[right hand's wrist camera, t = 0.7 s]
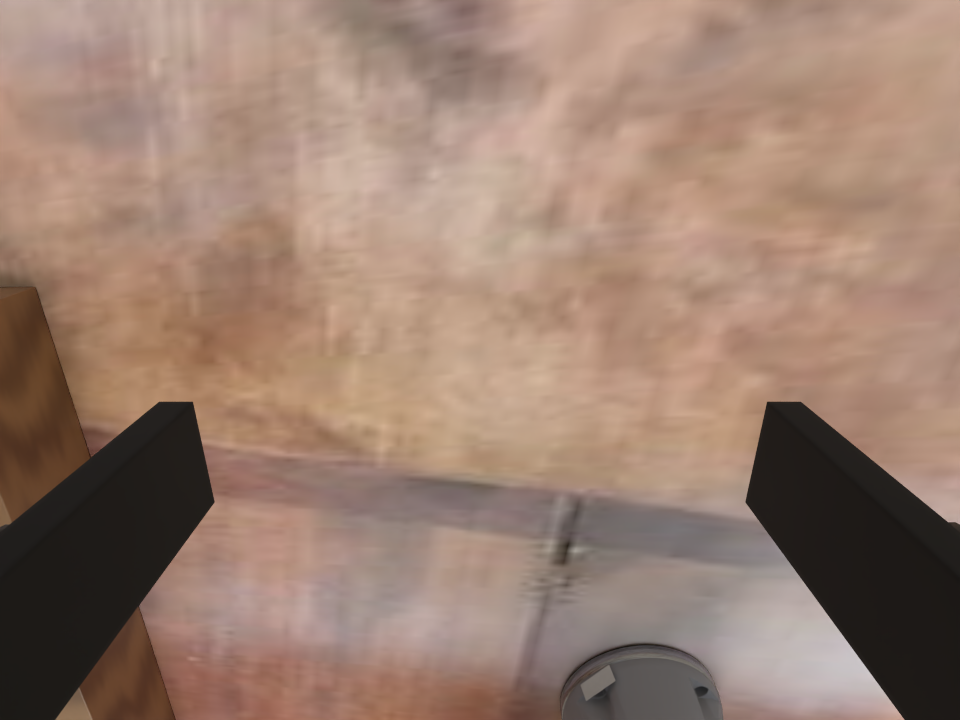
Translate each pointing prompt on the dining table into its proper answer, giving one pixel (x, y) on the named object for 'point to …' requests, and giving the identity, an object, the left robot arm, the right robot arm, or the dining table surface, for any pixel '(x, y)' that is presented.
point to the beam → (41, 467)
